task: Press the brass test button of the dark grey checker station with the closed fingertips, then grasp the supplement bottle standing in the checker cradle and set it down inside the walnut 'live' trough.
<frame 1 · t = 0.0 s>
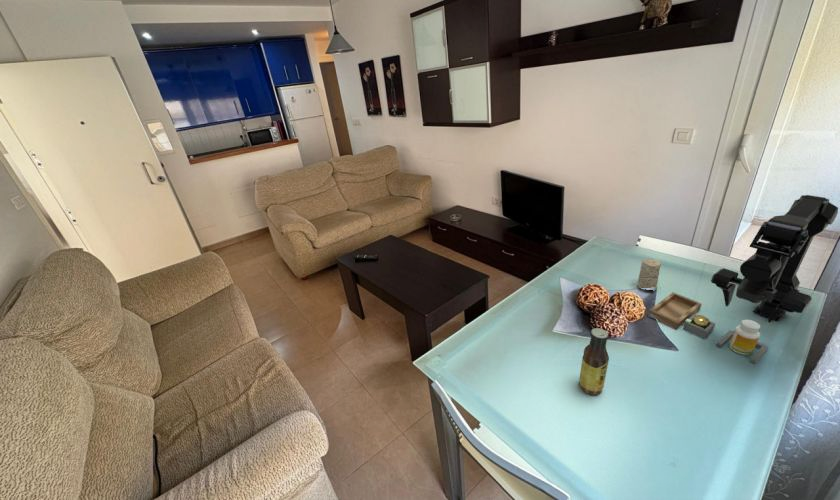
hand: (747, 313, 95), 15 cm above the table, fingers open, 9 cm apart
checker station: (719, 339, 106), on the table
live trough: (673, 313, 118), on the table
sauce bottle: (590, 387, 97), on the table
carving: (645, 288, 132), on the table
supplement bottle: (739, 349, 102), on the table
test button: (700, 322, 109), point 3 cm above the table, slide at 0.3 cm
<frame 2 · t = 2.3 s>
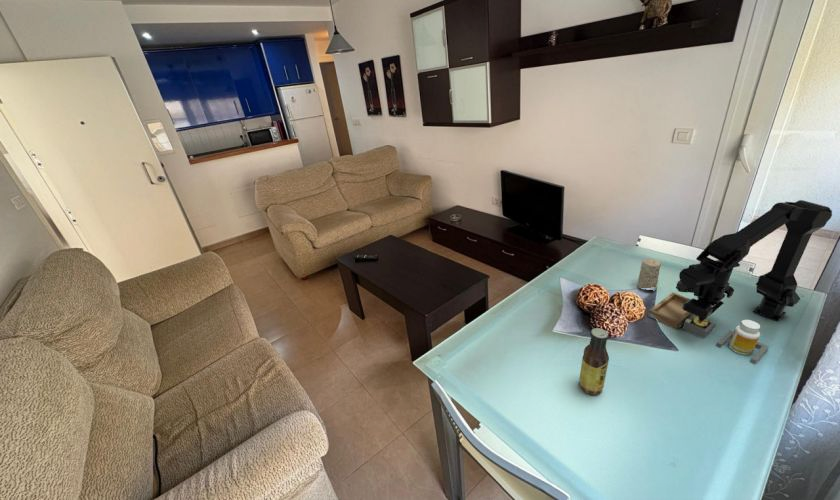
hand: (701, 319, 109), 4 cm above the table, fingers closed, pressing on test button
test button: (699, 323, 109), point 3 cm above the table, slide at 0.9 cm, touching gripper
everything else where it was.
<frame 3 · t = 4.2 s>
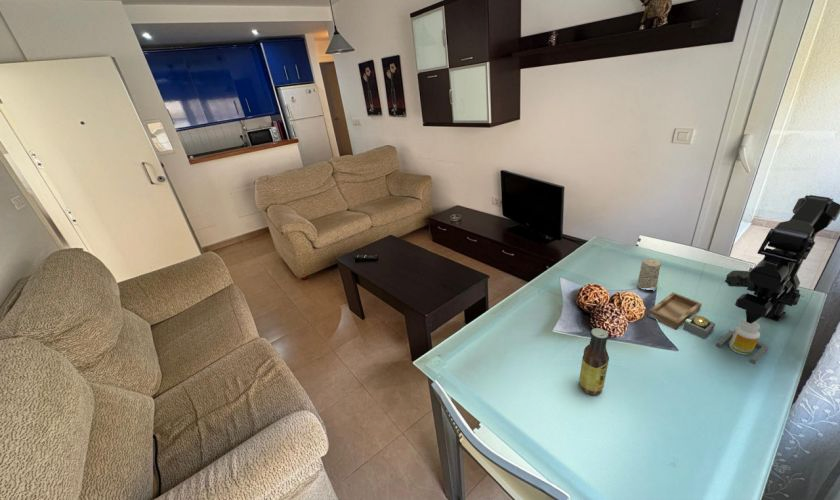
hand: (753, 317, 96), 12 cm above the table, fingers open, 6 cm apart
test button: (700, 322, 109), point 3 cm above the table, slide at 0.7 cm
everything else where it was.
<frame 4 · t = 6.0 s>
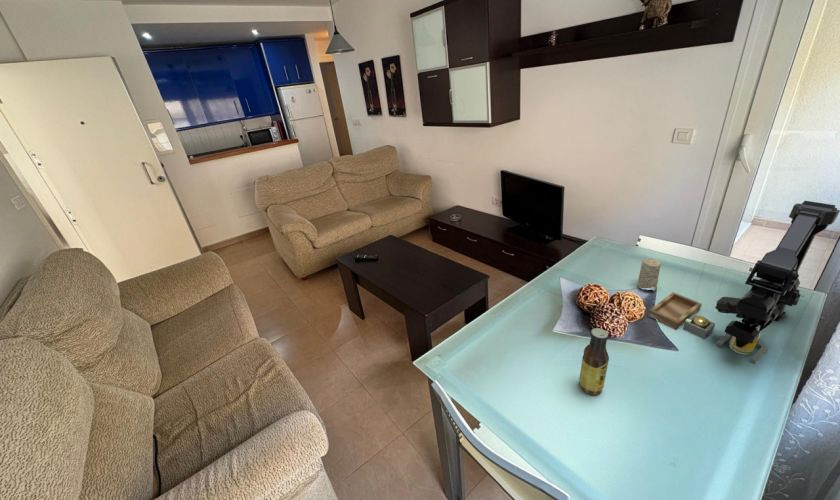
hand: (742, 342, 101), 3 cm above the table, fingers closed on supplement bottle, 5 cm apart
supplement bottle: (739, 349, 102), on the table, touching gripper
everything else where it was.
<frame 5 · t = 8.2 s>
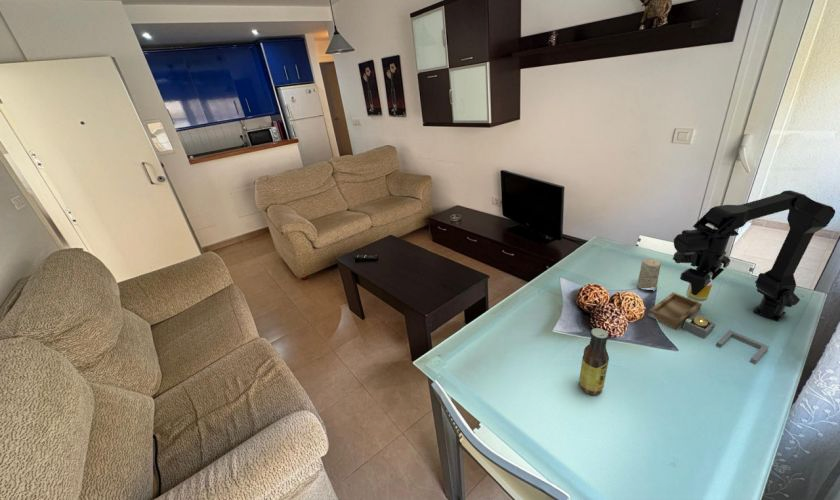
hand: (698, 291, 108), 13 cm above the table, fingers closed on supplement bottle, 5 cm apart
supplement bottle: (696, 297, 110), point 10 cm above the table, touching gripper
everything else where it was.
when the fingers open (4 cm above the table, at t = 10.6 s): supplement bottle stays where it is, resting on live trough.
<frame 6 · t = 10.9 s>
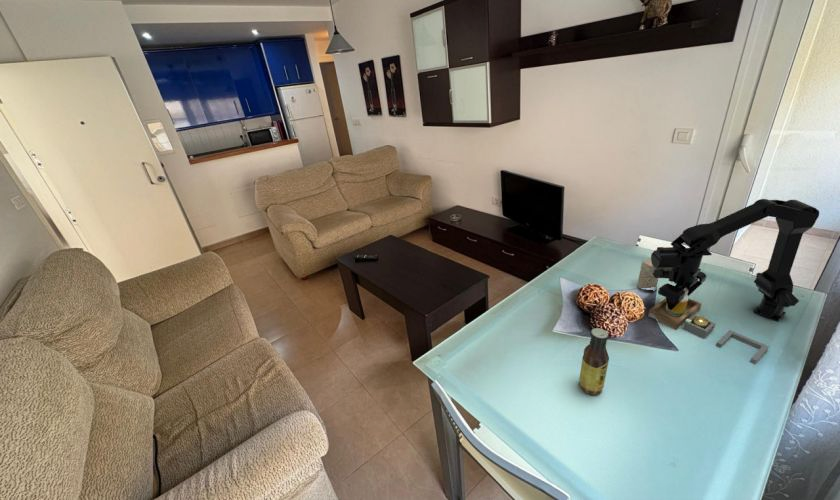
hand: (676, 304, 116), 4 cm above the table, fingers open, 8 cm apart
supplement bottle: (674, 312, 118), resting on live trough
everything else where it was.
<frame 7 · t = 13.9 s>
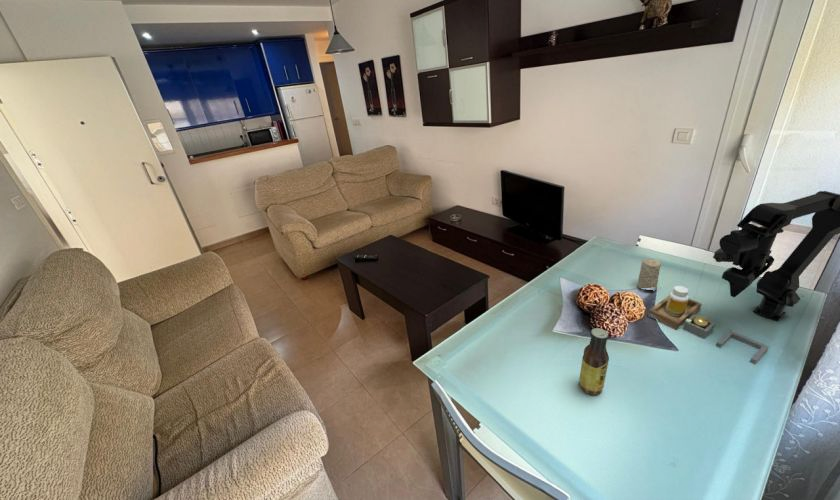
hand: (739, 290, 106), 13 cm above the table, fingers open, 9 cm apart
nothing on the table moved.
at the end: supplement bottle inside the target area on the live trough (0.1 cm from its centre), point 0.4 cm above the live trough's base; supplement bottle tilted 0°; the gripper is holding nothing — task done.
